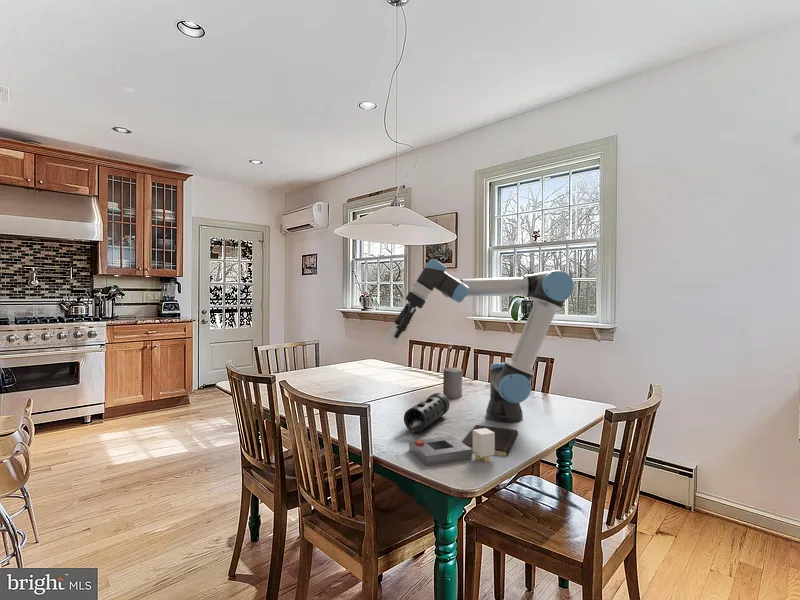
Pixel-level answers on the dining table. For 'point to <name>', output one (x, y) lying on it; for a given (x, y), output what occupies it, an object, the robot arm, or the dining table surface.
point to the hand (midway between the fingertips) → (389, 341)
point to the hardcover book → (496, 439)
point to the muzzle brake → (426, 412)
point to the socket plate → (440, 450)
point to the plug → (483, 443)
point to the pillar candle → (452, 382)
